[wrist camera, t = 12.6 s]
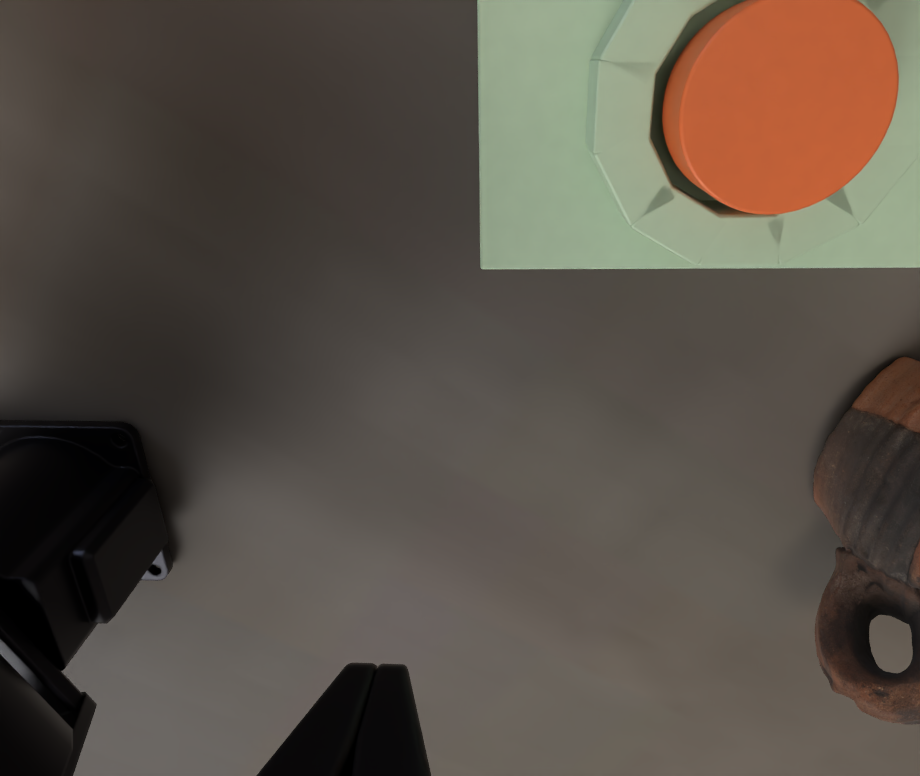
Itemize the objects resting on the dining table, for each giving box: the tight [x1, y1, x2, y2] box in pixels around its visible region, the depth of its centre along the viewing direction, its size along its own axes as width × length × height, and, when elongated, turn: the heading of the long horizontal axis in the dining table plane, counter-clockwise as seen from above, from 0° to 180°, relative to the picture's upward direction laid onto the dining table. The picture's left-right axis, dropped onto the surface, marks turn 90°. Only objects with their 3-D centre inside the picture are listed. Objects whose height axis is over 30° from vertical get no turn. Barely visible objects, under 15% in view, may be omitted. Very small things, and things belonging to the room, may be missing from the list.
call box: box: [477, 0, 920, 269], centre depth 16 cm, size 12×8×4 cm, turn 91°
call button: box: [662, 0, 899, 215], centre depth 14 cm, size 4×4×2 cm
